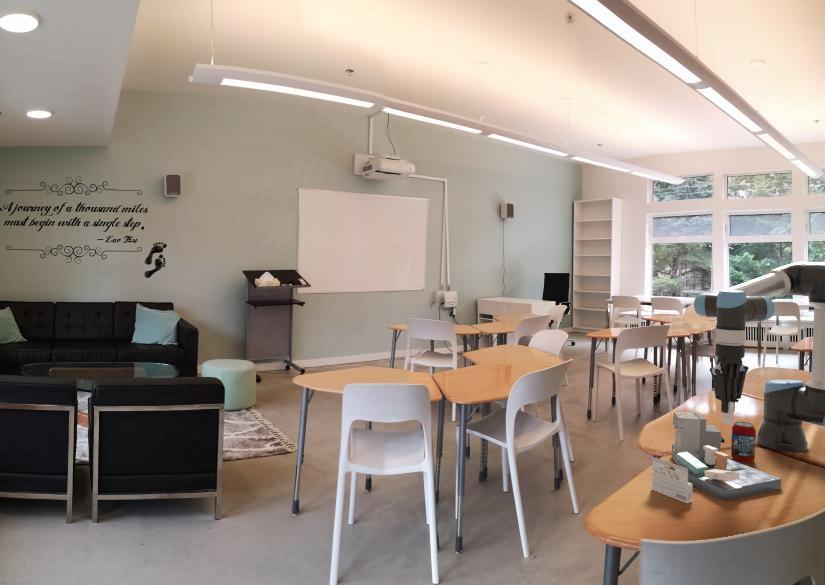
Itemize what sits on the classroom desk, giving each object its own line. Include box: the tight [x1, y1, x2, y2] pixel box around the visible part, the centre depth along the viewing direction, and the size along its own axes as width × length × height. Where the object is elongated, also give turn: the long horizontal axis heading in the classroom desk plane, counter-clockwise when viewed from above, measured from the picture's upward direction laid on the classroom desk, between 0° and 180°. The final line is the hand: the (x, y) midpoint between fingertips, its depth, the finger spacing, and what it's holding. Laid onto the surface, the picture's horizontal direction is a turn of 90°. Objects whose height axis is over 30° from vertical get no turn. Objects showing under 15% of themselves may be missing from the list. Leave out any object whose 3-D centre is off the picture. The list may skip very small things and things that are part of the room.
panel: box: [669, 458, 782, 501], centre depth 172 cm, size 22×20×3 cm
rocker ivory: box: [704, 469, 740, 481], centre depth 164 cm, size 5×8×2 cm, turn 21°
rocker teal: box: [676, 452, 708, 474], centre depth 174 cm, size 5×8×2 cm, turn 21°
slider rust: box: [714, 451, 731, 471], centre depth 172 cm, size 2×4×5 cm, turn 21°
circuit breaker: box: [671, 411, 726, 465], centre depth 189 cm, size 8×14×15 cm, turn 78°
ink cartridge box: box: [651, 456, 693, 504], centre depth 162 cm, size 2×11×10 cm, turn 32°
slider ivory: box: [703, 445, 718, 465], centre depth 178 cm, size 2×4×5 cm, turn 21°
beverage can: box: [730, 421, 757, 464], centre depth 191 cm, size 7×7×12 cm
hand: (727, 423), depth 172 cm, fingers closed
